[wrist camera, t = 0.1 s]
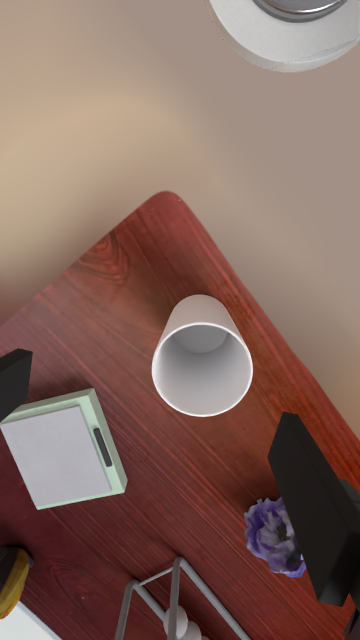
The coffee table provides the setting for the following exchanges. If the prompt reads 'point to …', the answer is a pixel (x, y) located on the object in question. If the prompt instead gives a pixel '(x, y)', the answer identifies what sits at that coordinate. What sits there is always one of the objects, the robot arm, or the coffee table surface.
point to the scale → (64, 449)
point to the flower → (274, 537)
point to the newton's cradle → (175, 606)
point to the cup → (201, 359)
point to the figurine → (12, 576)
